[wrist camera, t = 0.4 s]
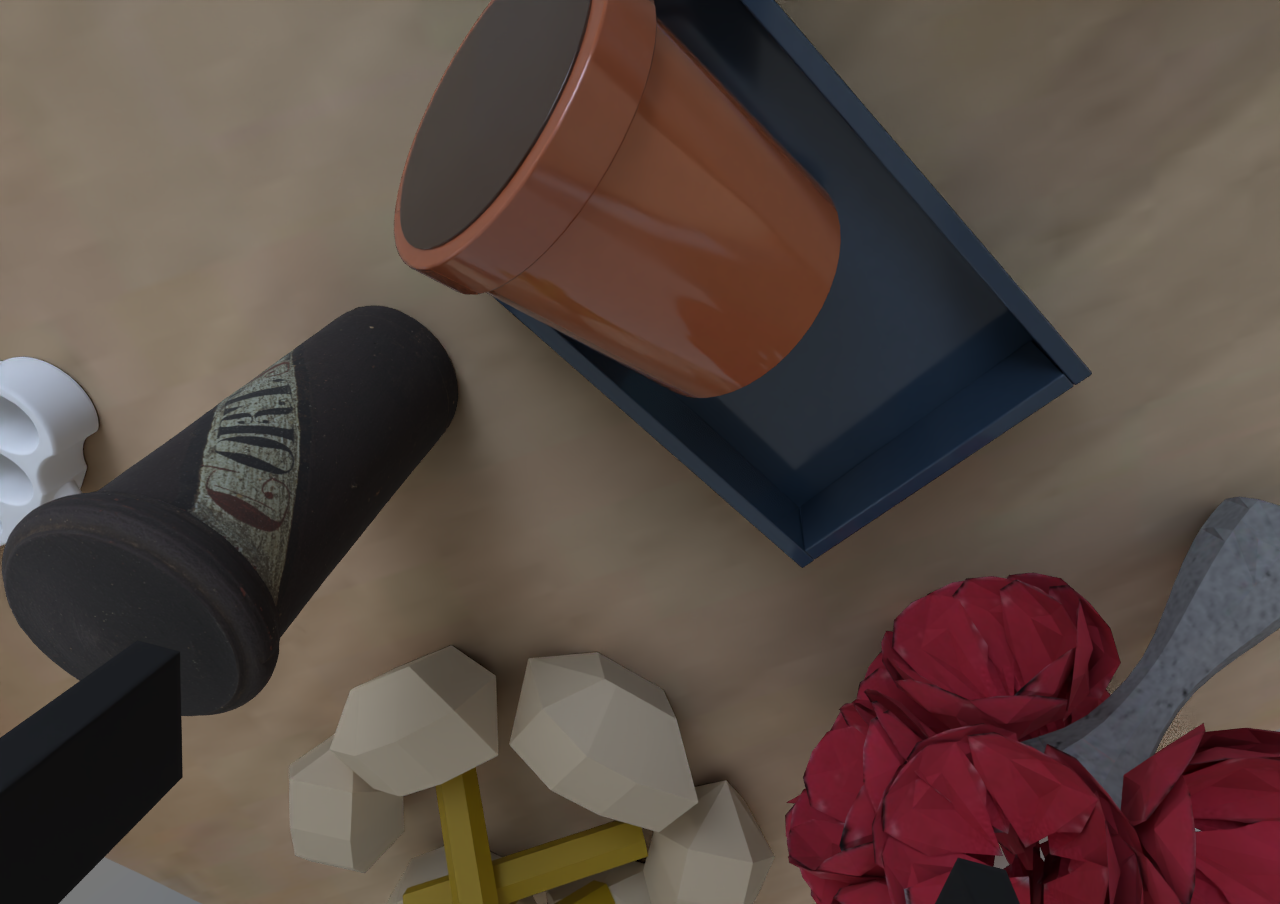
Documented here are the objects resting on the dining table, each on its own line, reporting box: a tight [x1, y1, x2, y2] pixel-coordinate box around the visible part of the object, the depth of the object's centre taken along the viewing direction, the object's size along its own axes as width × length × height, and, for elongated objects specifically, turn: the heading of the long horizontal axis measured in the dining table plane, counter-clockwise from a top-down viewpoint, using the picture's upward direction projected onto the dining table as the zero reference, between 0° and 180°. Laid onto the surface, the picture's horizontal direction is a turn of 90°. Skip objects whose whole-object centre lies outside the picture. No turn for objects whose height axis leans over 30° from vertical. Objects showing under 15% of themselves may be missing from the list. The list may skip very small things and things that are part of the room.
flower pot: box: [394, 0, 841, 398], centre depth 25 cm, size 11×16×15 cm
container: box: [2, 306, 458, 716], centre depth 30 cm, size 9×9×20 cm
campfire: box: [289, 645, 775, 904], centre depth 49 cm, size 35×34×17 cm
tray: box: [494, 0, 1092, 568], centre depth 31 cm, size 16×24×5 cm, turn 47°
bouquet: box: [785, 497, 1280, 904], centre depth 33 cm, size 22×24×30 cm
